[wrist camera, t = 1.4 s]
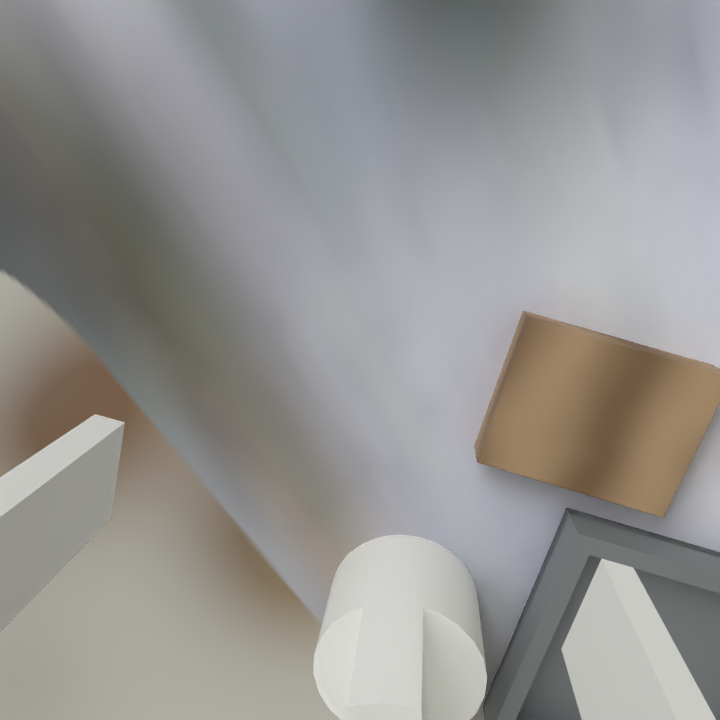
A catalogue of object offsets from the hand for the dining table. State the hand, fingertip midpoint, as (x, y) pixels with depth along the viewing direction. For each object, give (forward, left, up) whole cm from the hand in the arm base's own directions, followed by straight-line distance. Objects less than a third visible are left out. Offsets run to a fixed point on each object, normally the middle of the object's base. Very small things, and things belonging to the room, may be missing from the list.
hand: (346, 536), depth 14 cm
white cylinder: (+5, -15, -18) cm, 24 cm away
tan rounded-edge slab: (+11, 0, -19) cm, 22 cm away
